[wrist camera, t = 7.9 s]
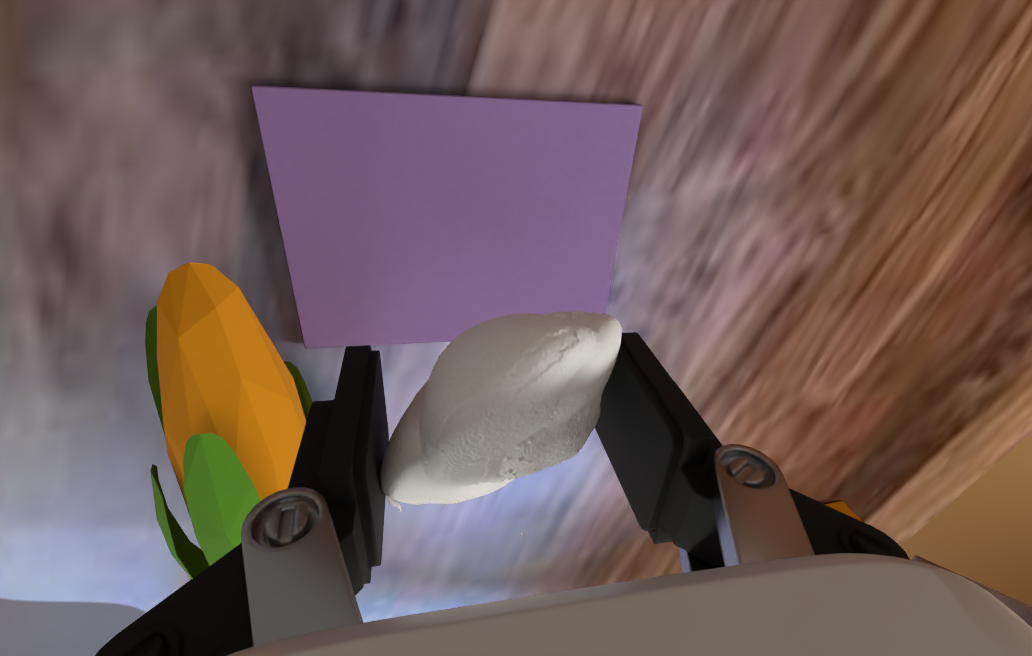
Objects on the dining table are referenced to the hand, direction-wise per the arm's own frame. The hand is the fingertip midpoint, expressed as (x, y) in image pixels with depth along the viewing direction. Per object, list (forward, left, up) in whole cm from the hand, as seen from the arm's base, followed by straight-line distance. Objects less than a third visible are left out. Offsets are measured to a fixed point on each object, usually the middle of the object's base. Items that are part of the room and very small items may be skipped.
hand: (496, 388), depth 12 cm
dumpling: (0, 0, -1) cm, 1 cm away
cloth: (0, 0, -12) cm, 12 cm away
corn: (-11, -10, -13) cm, 19 cm away
